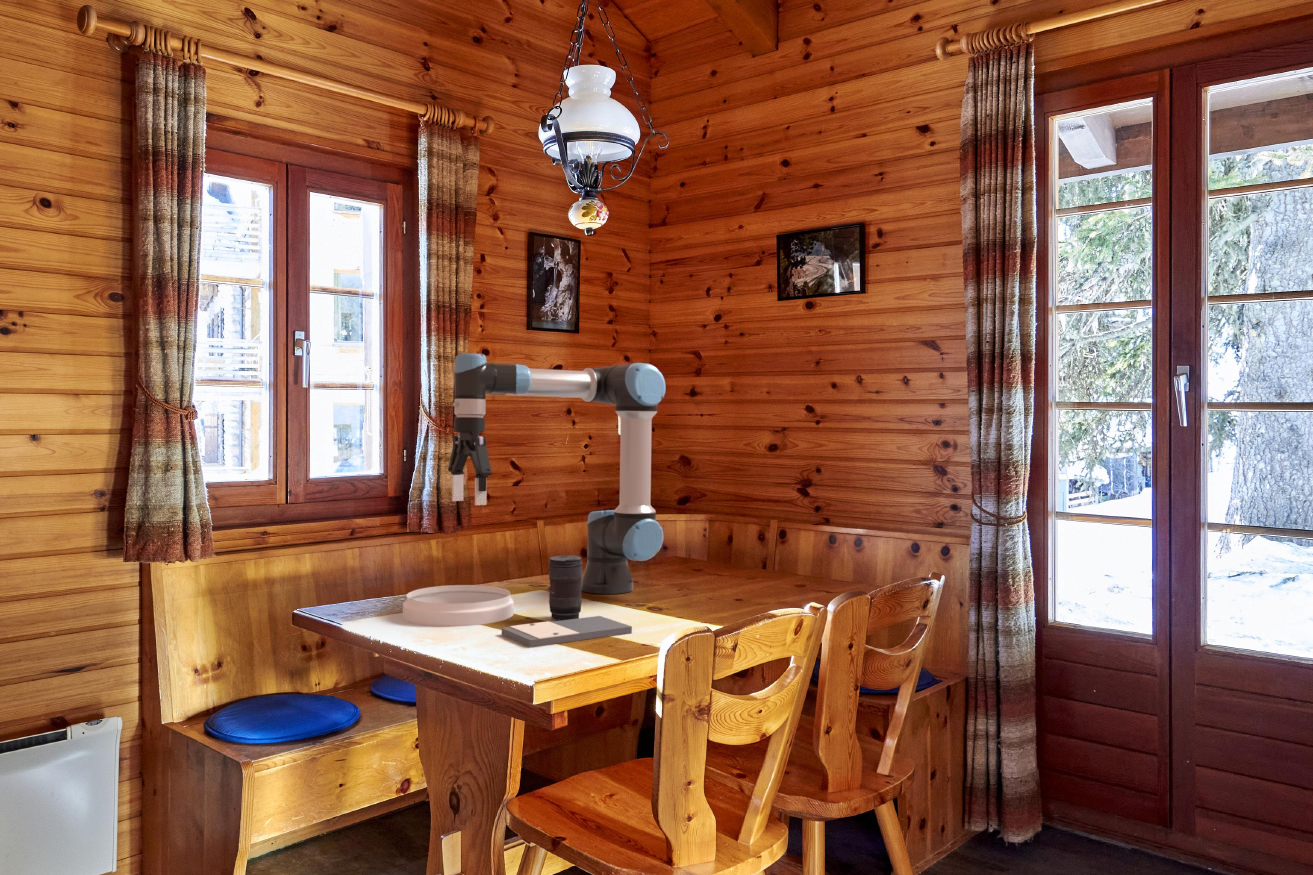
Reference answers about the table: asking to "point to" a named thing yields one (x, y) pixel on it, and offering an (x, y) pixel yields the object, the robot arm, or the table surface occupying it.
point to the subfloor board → (565, 631)
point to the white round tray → (458, 605)
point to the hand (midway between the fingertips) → (468, 502)
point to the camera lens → (565, 587)
